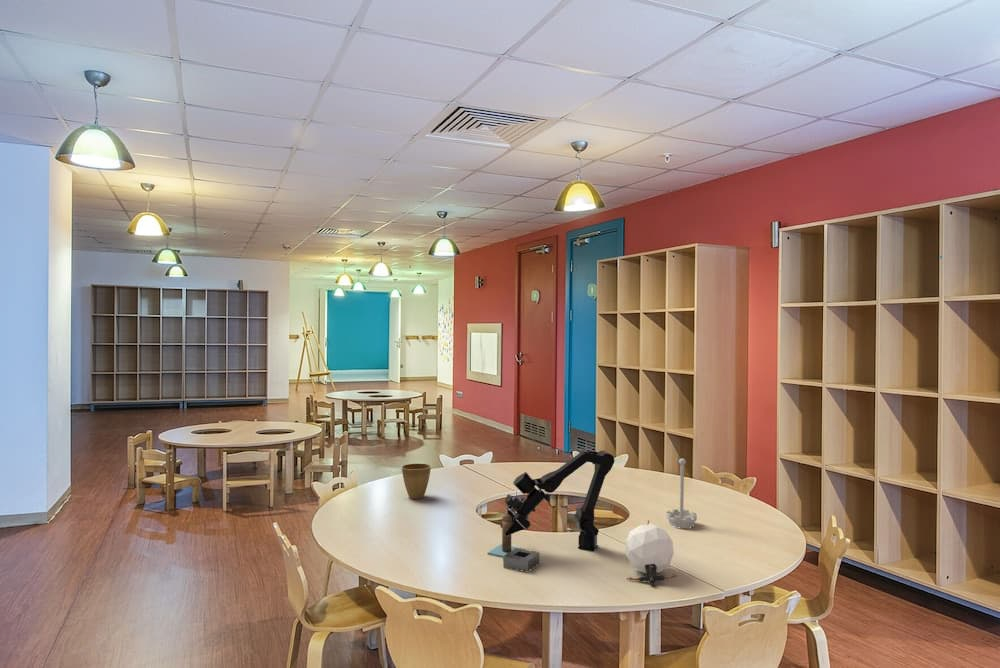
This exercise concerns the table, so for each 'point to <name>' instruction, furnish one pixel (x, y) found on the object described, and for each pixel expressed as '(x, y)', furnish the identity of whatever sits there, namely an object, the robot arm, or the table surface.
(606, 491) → the table surface
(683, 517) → the flag stand
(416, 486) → the plant pot
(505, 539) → the brown wooden pin
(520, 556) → the block
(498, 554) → the blue square plate
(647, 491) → the table surface
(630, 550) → the white faceted globe lamp
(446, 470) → the table surface
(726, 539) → the table surface
